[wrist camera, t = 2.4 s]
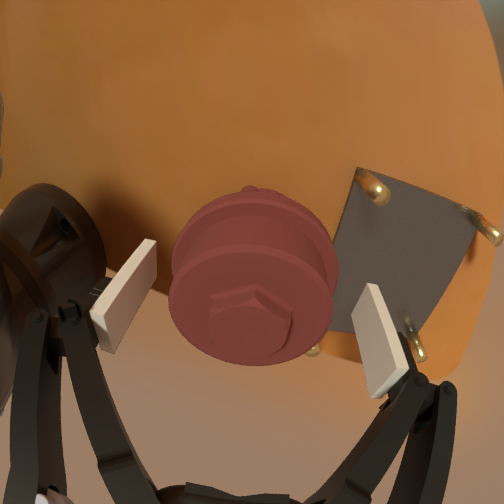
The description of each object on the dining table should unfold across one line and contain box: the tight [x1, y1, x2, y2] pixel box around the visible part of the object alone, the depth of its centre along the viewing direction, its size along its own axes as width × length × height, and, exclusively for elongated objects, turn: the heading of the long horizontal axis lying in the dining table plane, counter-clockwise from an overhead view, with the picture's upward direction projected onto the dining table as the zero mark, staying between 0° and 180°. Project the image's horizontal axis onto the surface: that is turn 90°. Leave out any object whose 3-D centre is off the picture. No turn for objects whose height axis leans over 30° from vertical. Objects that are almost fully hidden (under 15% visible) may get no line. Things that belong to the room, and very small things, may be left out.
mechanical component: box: [168, 186, 339, 366], centre depth 18 cm, size 12×10×10 cm
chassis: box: [305, 167, 504, 363], centre depth 23 cm, size 15×17×4 cm
